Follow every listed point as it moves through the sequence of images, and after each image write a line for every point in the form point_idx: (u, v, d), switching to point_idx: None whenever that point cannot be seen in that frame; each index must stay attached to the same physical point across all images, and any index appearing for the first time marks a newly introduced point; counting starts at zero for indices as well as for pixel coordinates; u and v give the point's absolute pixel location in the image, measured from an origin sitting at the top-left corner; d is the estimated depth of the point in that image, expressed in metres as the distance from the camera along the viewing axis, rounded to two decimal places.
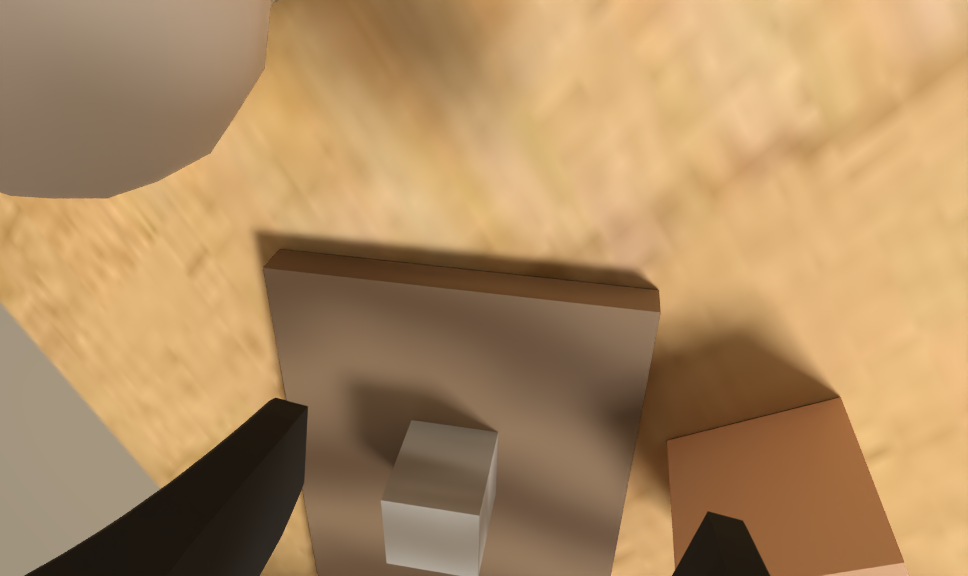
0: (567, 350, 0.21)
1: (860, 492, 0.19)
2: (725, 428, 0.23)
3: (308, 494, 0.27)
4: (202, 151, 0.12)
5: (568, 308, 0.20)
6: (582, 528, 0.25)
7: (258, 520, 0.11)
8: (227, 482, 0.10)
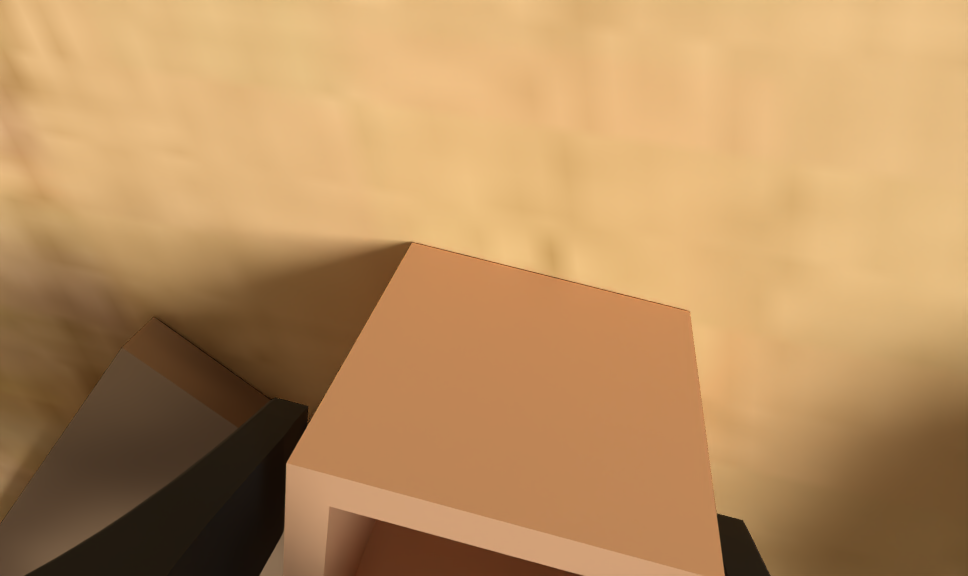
0: (146, 447, 0.17)
1: None
2: None
3: None
4: None
5: (89, 412, 0.16)
6: None
7: (258, 520, 0.11)
8: (227, 482, 0.10)
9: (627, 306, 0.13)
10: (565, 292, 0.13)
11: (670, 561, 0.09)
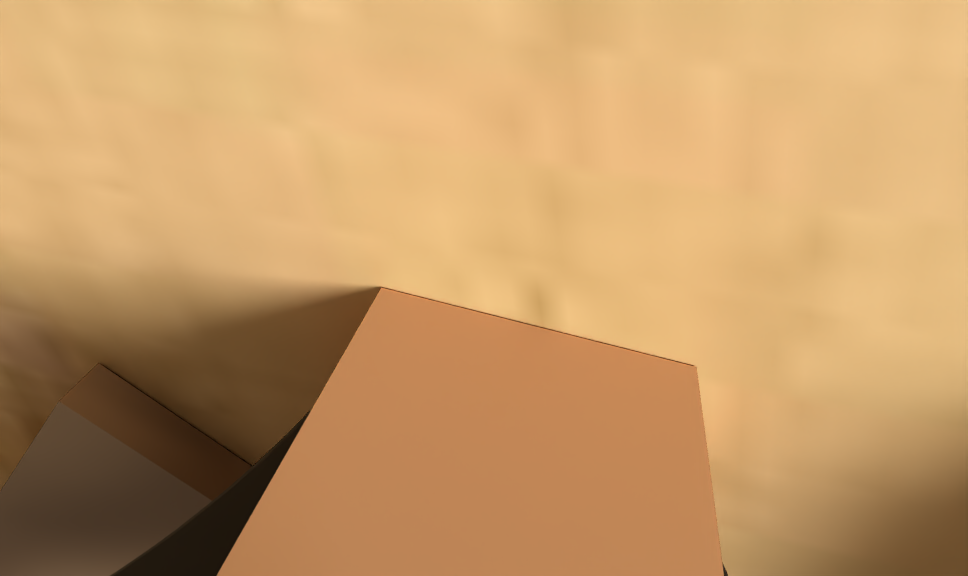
0: (92, 505, 0.15)
1: None
2: None
3: None
4: None
5: (28, 468, 0.15)
6: None
7: None
8: None
9: (625, 362, 0.12)
10: (554, 346, 0.12)
11: None
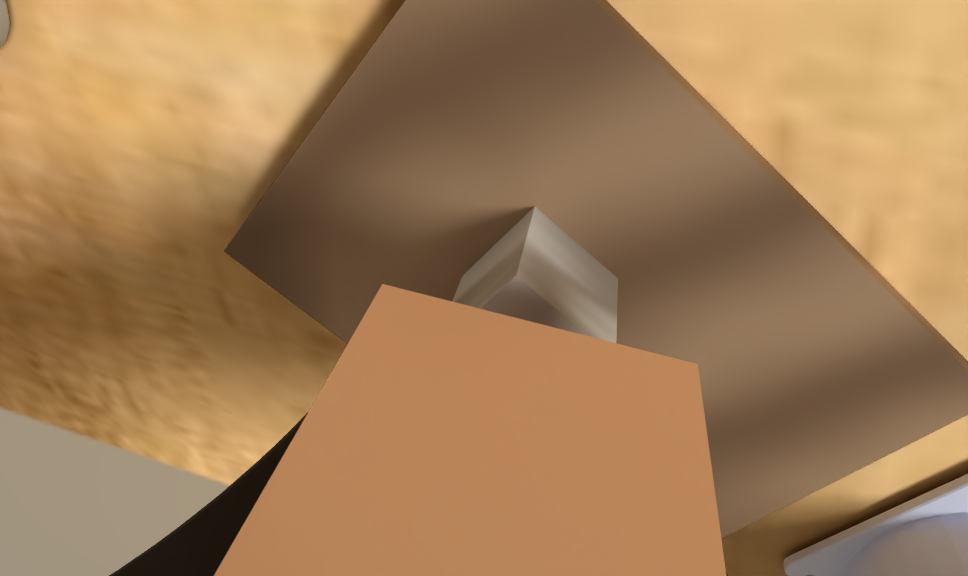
0: (472, 43, 0.16)
1: None
2: None
3: None
4: None
5: None
6: (746, 230, 0.17)
7: None
8: None
9: (627, 359, 0.12)
10: (556, 343, 0.12)
11: None
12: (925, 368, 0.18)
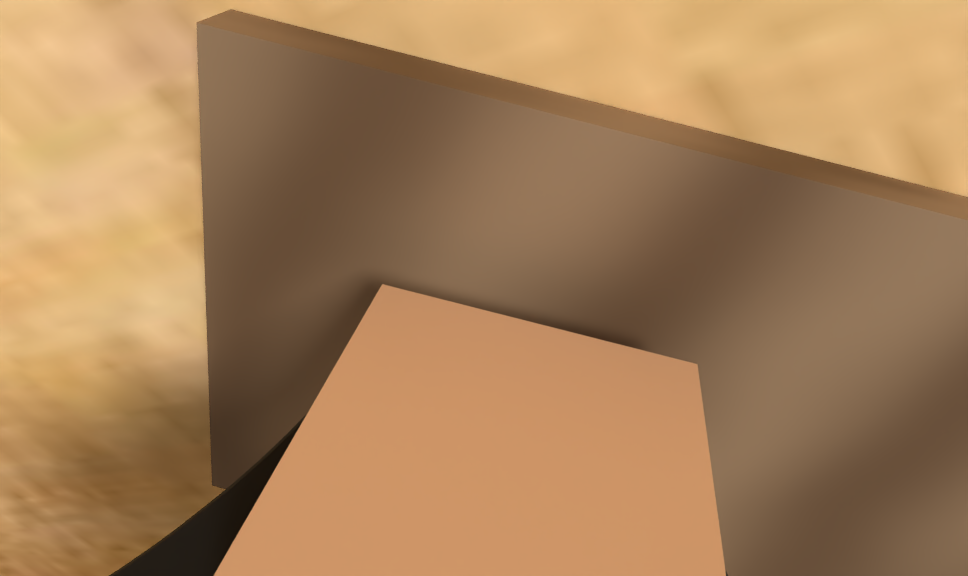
0: (288, 180, 0.13)
1: None
2: None
3: None
4: None
5: (212, 164, 0.13)
6: (724, 232, 0.12)
7: None
8: None
9: (626, 358, 0.12)
10: (555, 343, 0.12)
11: None
12: None
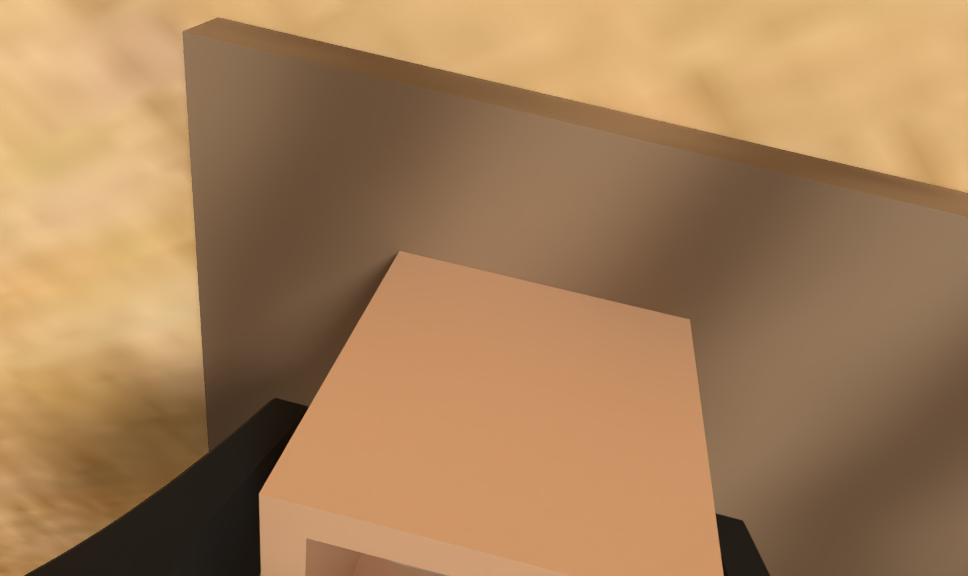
0: (279, 188, 0.13)
1: None
2: None
3: None
4: None
5: (202, 174, 0.13)
6: (720, 234, 0.12)
7: (258, 520, 0.11)
8: (227, 482, 0.10)
9: (624, 314, 0.13)
10: (559, 301, 0.13)
11: None
12: None
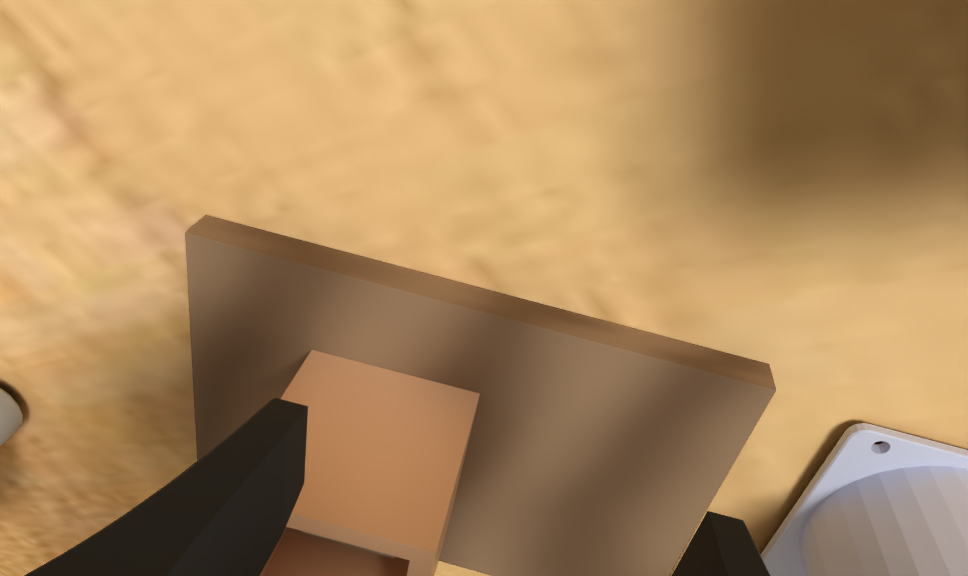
0: (240, 313, 0.22)
1: None
2: None
3: (448, 559, 0.27)
4: None
5: (195, 303, 0.22)
6: (488, 349, 0.21)
7: (258, 520, 0.11)
8: (227, 482, 0.10)
9: (440, 391, 0.22)
10: (402, 382, 0.22)
11: (410, 542, 0.17)
12: (698, 389, 0.20)
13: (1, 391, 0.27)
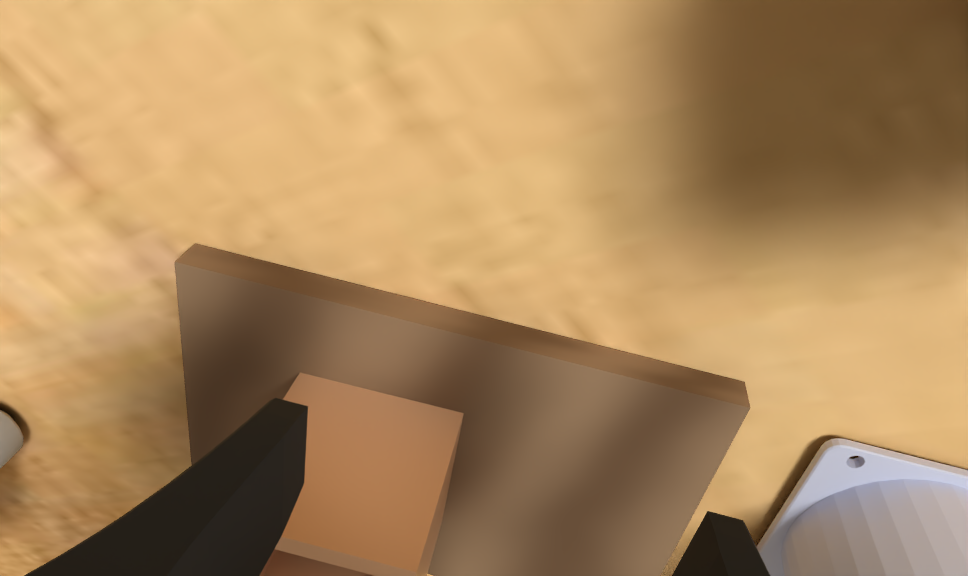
0: (230, 338, 0.23)
1: None
2: None
3: (439, 573, 0.27)
4: None
5: (186, 329, 0.23)
6: (470, 370, 0.22)
7: (258, 520, 0.11)
8: (227, 482, 0.10)
9: (424, 411, 0.22)
10: (387, 403, 0.22)
11: (392, 563, 0.18)
12: (675, 407, 0.21)
13: (2, 413, 0.28)
